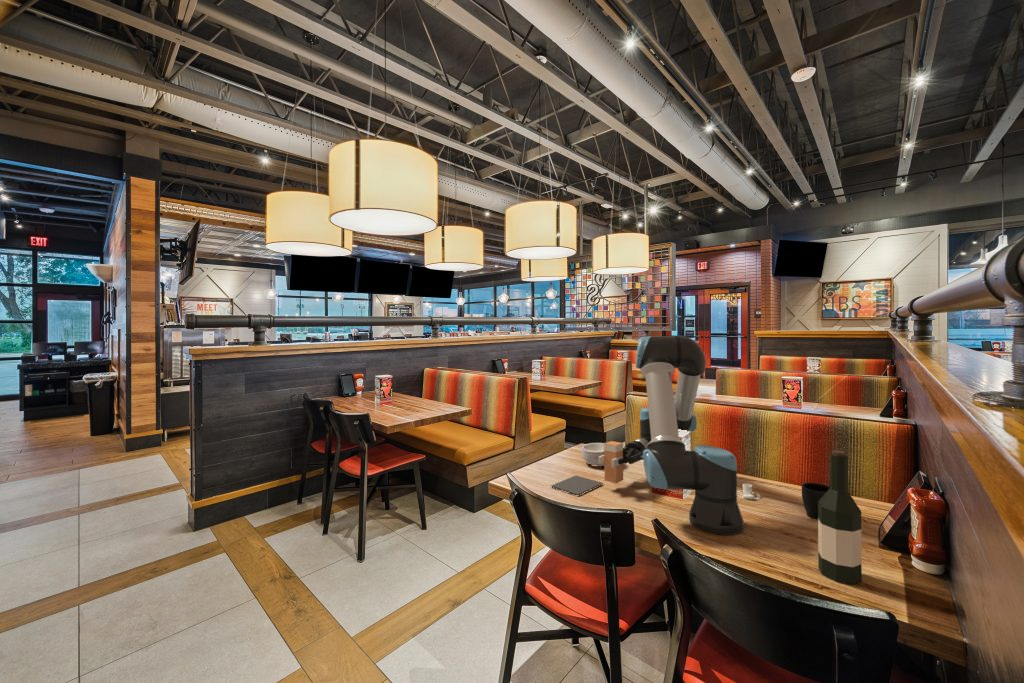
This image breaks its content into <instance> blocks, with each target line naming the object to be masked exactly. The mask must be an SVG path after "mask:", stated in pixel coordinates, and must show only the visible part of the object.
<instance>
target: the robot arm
mask: <svg viewBox="0 0 1024 683" xmlns="http://www.w3.org/2000/svg"><path fill="white" fill-rule="evenodd" d="M706 362H707V359H706V356H705V353H704V351H703V349H702V347H701V346H700V345H699V344H698V343H697V342H696V341H695V340H694V339H692V337H691V338H690V337H688V336H686V335H665V336H664V335H663V336H662V335H661V336H660V335H658V336H652V335H650V336H641V337H639V339H638V341H637V346H636V356H635V368H636V369H638V370H639V369H640V374H641V375H642V376H644V377H645V386H646V396H647V397H646V398H647V406H648V407H641V409H640V410H639V412H640V413H639V431H640V433H639V435H640V436H639V437H640V438H638V439H635V440H633V441H630V442H628V443H627V444H626V445H625V446H623V456H620V457H617V458H615V459H612V467H616V466H618V465H621V464H623V465H624V464H629V465H633V464H635V463H638V462H641V461H643V467H644V473H645V477H646V481H647V482H648V484H649V485H650V486H651V487H652V488H654V489H664V490H688V491H694V498H693V500H692V504H691V506H690V510H689V518H688V519H689V522H690V524H691V525H692V526H693V527H695V528H697V529H698V530H701V531H704V532H707V533H710V534H714V535H719V536H721V535H722V536H734V535H737V534H741V533H743V531H744V530H745V527H744V525H745V524H744V523H745V522H744V517H743V515H742V513H741V510H740V509H741V508H740V506H739V504H738V503H739V502H738V496H737V491H738V489H737V488H738V485H737V484H738V481H737V480H738V478H737V477H738V476H737V475H738V473H737V472H738V465H737V457H736V456H735V455H734V453H733V452H730V450H727V449H723V448H721V447H717V446H714V445H713V446H711V445H707V444H706V445H705V444H700V445H699V444H697V445H695V446H694V448H693V450H686V445H685V442H683V441H682V440H680V436H679V431H678V429H681V430H687V432H695V431H696V430H697V423H698V422H697V416H696V414H695V413H694V409H695V408H694V407H695V403H696V399H697V393H698V391H699V390H698V389H699V384H700V379H701V376H702V375H703V374H704V373H705V371H706V370H705V369H706V365H707V364H706ZM676 369H677V370H678V376H677V382H676V389H675V394H674V389H673V381H672V375H673V374H674V373H675V371H676ZM602 463H604V452H603V455H602V456H599V457H598V464H602Z"/></svg>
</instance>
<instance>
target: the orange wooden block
mask: <svg viewBox="0 0 1024 683" xmlns="http://www.w3.org/2000/svg"><path fill="white" fill-rule="evenodd" d="M603 443H604V467H603V468H604V469H603V470H604V471H603V472H604V481H605V482H610V483H613V484H619V483H620V482H623V481H624V463H623V464H621V465H618V466H616V467H612V459H615V458H617V457H620V456H623V448H624V443H623V442H618V441H613V440H610V441H607V442H603Z"/></svg>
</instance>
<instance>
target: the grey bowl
mask: <svg viewBox="0 0 1024 683" xmlns="http://www.w3.org/2000/svg"><path fill="white" fill-rule="evenodd" d="M604 443H605V442H603V443H602V442H590V443H587V444H583V445H582V446H581V449H580V450H581V458H582V459H583V460H585V462H586V463H587V464H588V463H589V464H591V465H597V466H604V463H602V464H598V457H599V456H602V455H603V452H604ZM589 464H588V465H589Z"/></svg>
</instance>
